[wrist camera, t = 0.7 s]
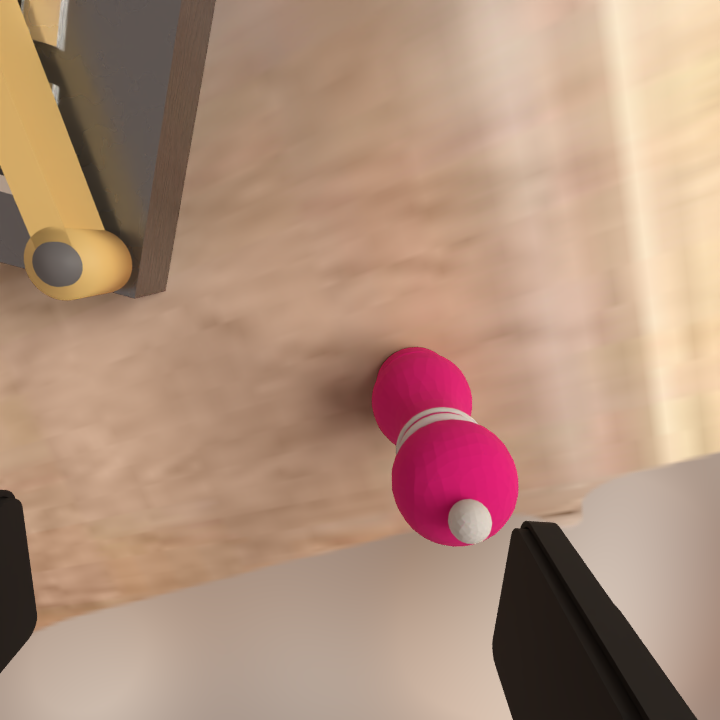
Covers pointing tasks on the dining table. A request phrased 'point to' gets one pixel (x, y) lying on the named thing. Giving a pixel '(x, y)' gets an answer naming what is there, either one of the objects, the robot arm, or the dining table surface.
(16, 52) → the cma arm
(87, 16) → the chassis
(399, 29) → the dining table surface
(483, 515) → the pepper mill
